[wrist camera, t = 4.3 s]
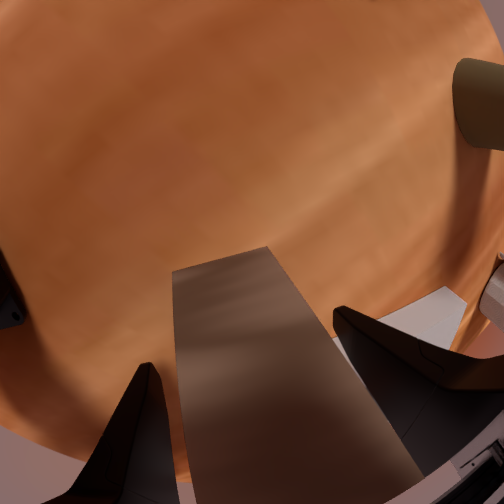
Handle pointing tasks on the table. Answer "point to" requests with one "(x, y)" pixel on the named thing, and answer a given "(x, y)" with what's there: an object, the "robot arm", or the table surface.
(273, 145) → the table surface
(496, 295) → the paper towel roll
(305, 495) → the walnut peg
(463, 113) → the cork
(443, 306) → the collar block
